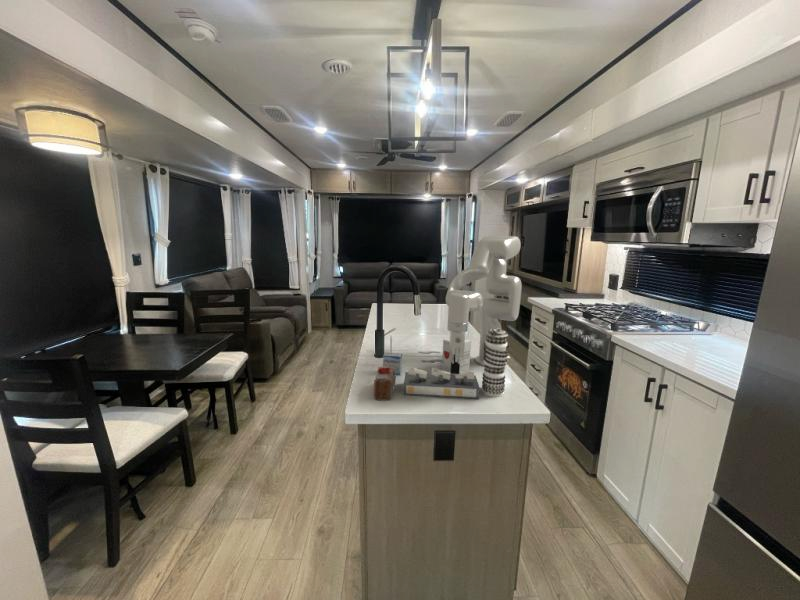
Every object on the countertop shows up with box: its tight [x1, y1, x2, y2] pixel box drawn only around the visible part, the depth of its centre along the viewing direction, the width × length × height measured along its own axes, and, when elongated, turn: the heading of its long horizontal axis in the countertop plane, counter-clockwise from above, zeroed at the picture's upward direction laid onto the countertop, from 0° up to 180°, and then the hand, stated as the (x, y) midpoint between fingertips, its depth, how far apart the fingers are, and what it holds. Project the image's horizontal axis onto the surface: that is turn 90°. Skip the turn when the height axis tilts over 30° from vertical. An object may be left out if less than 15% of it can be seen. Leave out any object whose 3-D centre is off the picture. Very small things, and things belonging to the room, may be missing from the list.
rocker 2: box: [431, 367, 450, 380], centre depth 123 cm, size 7×4×2 cm, turn 85°
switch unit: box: [403, 371, 480, 400], centre depth 124 cm, size 28×10×8 cm, turn 85°
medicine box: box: [382, 352, 403, 376], centre depth 140 cm, size 8×4×9 cm, turn 82°
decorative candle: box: [481, 328, 510, 398], centre depth 123 cm, size 9×9×25 cm
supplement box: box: [441, 337, 472, 374], centre depth 142 cm, size 9×9×15 cm
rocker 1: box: [407, 366, 428, 379], centre depth 124 cm, size 7×4×2 cm, turn 85°
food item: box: [373, 365, 397, 401], centre depth 122 cm, size 14×8×10 cm, turn 179°
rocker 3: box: [455, 370, 475, 379], centre depth 123 cm, size 7×4×2 cm, turn 85°
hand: (454, 372), depth 122 cm, fingers closed
